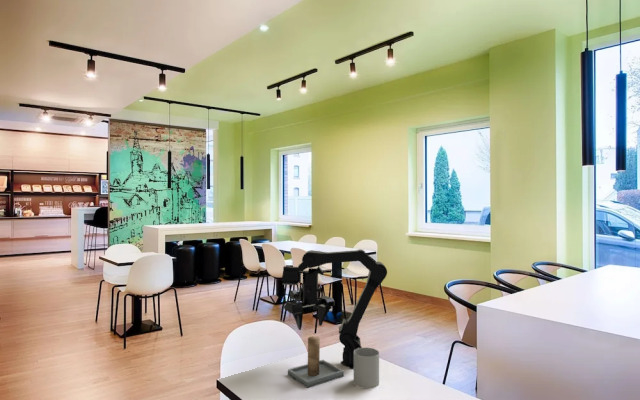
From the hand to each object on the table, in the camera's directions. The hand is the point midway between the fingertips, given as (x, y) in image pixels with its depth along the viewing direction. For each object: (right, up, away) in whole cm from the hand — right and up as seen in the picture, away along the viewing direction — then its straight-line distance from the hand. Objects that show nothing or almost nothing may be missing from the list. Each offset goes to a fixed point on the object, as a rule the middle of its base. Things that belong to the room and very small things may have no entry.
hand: (310, 327), depth 148 cm
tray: (+2, -13, -11) cm, 17 cm away
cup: (+19, -13, -16) cm, 28 cm away
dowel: (+1, -12, -11) cm, 17 cm away
